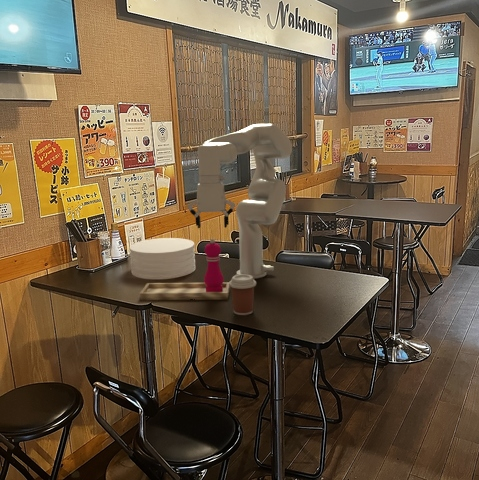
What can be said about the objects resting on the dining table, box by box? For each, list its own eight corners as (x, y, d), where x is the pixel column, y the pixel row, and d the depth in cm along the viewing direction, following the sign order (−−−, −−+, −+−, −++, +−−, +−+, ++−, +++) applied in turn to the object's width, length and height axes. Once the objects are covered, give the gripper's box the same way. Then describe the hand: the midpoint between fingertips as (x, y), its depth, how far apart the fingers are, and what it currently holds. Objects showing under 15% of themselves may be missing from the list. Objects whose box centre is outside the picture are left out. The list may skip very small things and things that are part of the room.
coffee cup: (262, 310, 161) (261, 276, 158) (245, 318, 154) (244, 283, 152) (241, 304, 167) (240, 271, 164) (224, 312, 160) (222, 278, 157)
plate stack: (125, 266, 219) (123, 242, 216) (183, 258, 230) (182, 235, 228) (139, 283, 194) (137, 256, 191) (204, 273, 205) (203, 247, 203)
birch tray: (229, 288, 184) (229, 282, 184) (227, 299, 173) (227, 292, 172) (147, 289, 186) (147, 283, 185) (139, 300, 174) (139, 293, 174)
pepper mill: (226, 289, 181) (225, 237, 176) (219, 295, 174) (217, 241, 170) (209, 287, 183) (207, 236, 179) (201, 293, 176) (199, 240, 172)
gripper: (235, 177, 173) (236, 224, 177) (187, 179, 173) (190, 225, 178) (233, 180, 165) (235, 228, 169) (184, 181, 166) (187, 230, 170)
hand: (212, 227), depth 174 cm, fingers open, 9 cm apart
